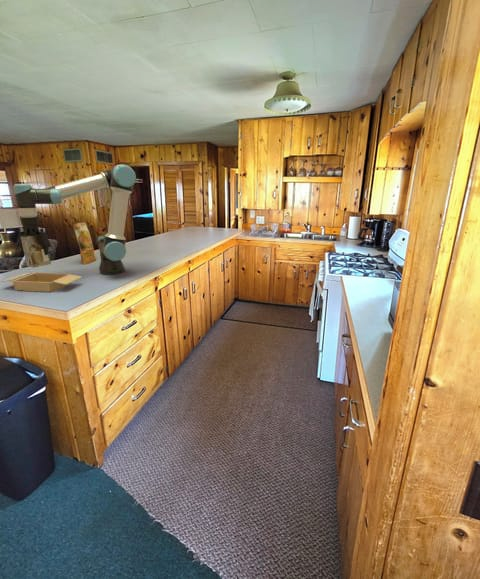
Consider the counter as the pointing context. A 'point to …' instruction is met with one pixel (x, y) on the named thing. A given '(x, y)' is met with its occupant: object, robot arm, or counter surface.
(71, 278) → the flap
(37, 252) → the coffee box
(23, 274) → the flap
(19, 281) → the tan shallow open box
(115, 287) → the counter surface
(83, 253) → the pancake mix bag
